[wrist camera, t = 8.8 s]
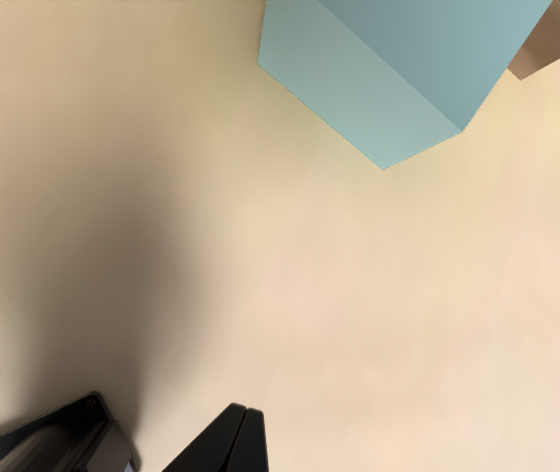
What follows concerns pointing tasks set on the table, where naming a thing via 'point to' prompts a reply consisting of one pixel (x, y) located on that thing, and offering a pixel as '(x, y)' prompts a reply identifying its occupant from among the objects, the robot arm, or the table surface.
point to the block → (394, 64)
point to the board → (539, 44)
